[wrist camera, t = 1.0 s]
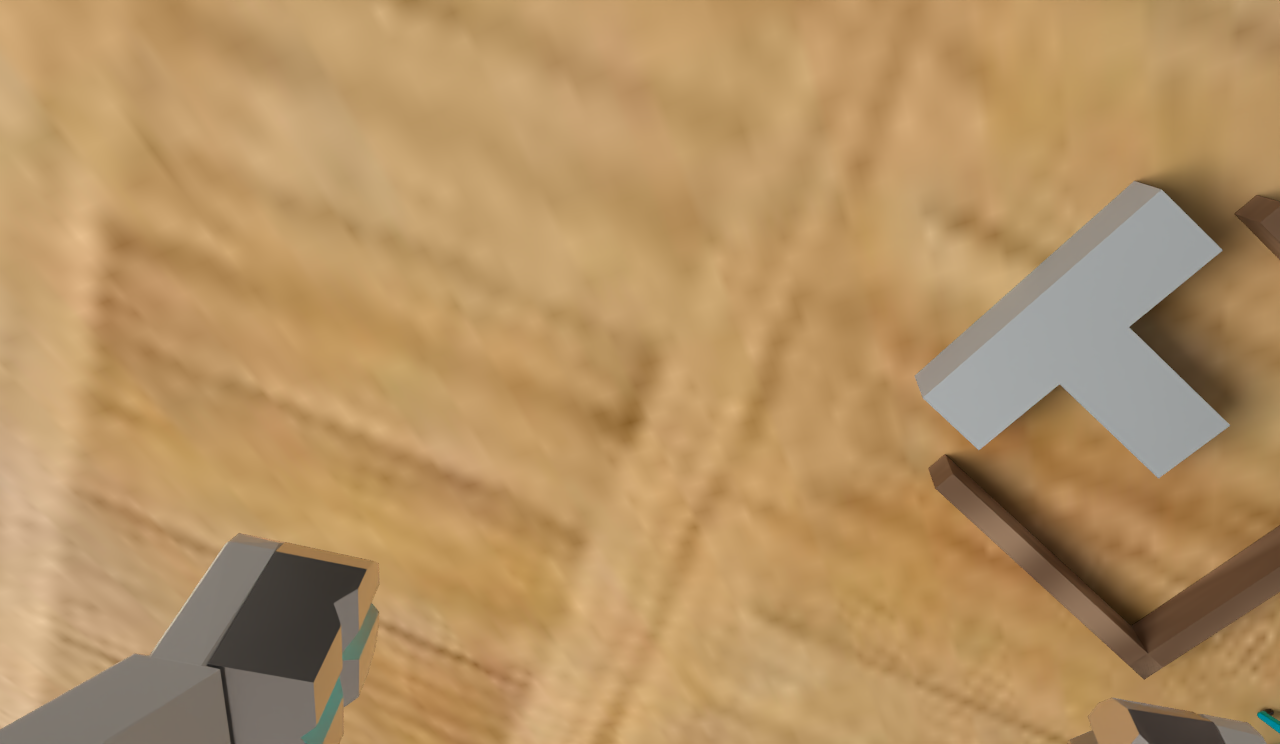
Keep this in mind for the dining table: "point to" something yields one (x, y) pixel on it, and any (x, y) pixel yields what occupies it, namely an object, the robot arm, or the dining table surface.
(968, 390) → the T-block
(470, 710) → the dining table surface
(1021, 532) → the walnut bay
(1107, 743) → the robot arm
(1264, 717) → the stick construction toy
